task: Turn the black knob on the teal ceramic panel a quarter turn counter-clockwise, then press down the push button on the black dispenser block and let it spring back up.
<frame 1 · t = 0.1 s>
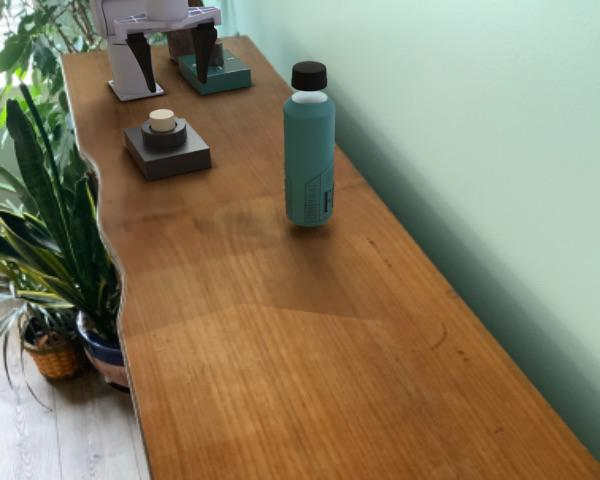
hand: (177, 86, 91), 10 cm above the table, tool pointing down, fingers open, 7 cm apart
dark brown tall block: (188, 59, 127), on the table
dial panel: (215, 79, 120), on the table
knob: (212, 50, 116), point 5 cm above the table, hinge at 0.0°
dispenser: (168, 157, 98), on the table
push button: (162, 121, 93), point 6 cm above the table, slide at 0.1 cm
beverage bottle: (308, 225, 84), on the table
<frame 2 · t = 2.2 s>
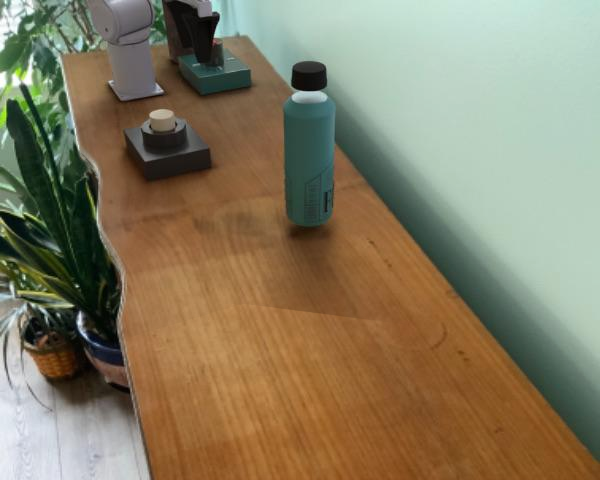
hand: (196, 54, 103), 9 cm above the table, tool pointing down, fingers open, 7 cm apart
nothing on the table moved.
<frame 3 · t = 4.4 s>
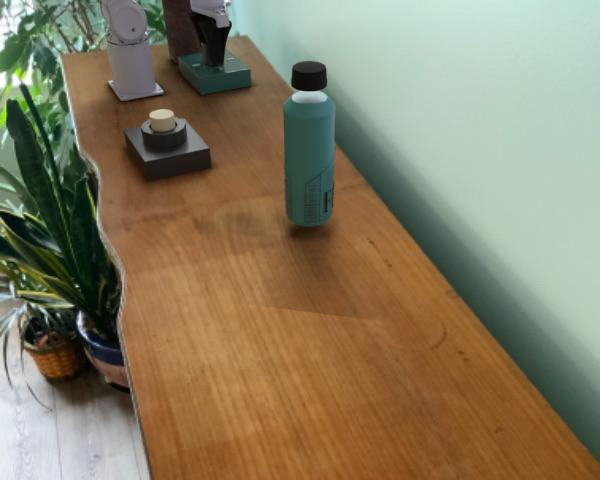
hand: (213, 59, 117), 4 cm above the table, tool pointing down, fingers closed on knob, 4 cm apart
knob: (212, 50, 116), point 5 cm above the table, hinge at 0.0°, touching gripper
everything else where it was.
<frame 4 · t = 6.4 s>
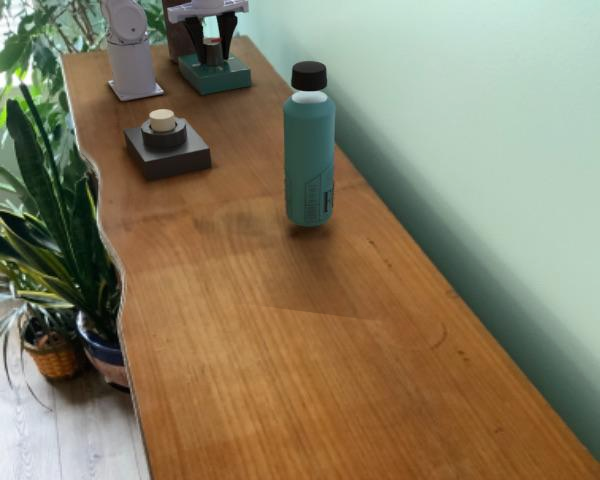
hand: (213, 60, 117), 3 cm above the table, tool pointing down, fingers closed on knob, 4 cm apart
knob: (212, 50, 116), point 5 cm above the table, hinge at 89.8°, touching gripper
everything else where it was.
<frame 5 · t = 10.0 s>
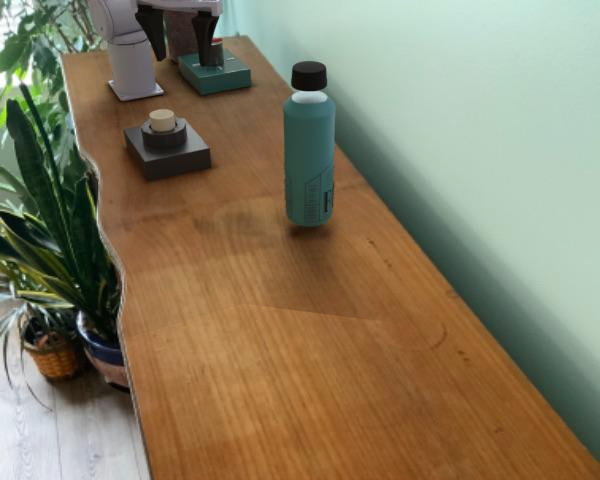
hand: (183, 62, 100), 9 cm above the table, tool pointing down, fingers open, 7 cm apart
knob: (212, 50, 116), point 5 cm above the table, hinge at 89.7°
everything else where it was.
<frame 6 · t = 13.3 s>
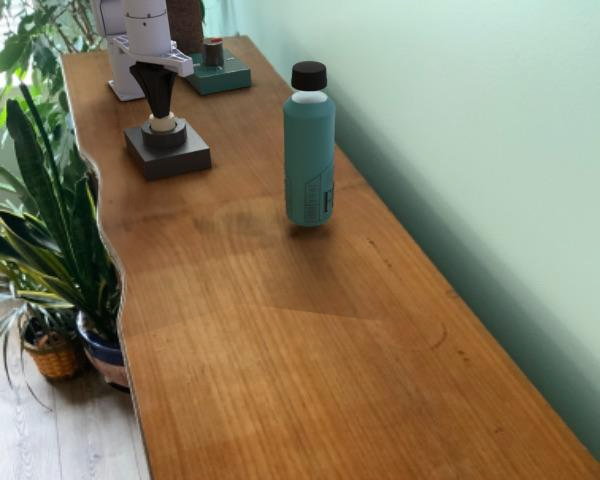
hand: (161, 115, 93), 6 cm above the table, tool pointing down, fingers closed, pressing on push button
push button: (162, 122, 94), point 5 cm above the table, slide at -0.1 cm, touching gripper
everything else where it was.
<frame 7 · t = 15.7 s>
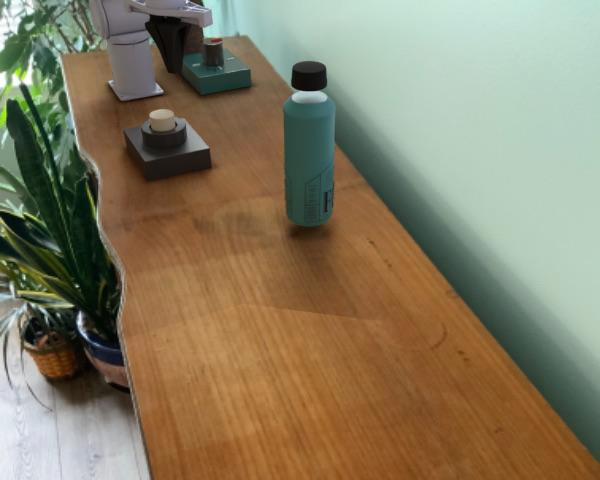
hand: (175, 71, 96), 10 cm above the table, tool pointing down, fingers closed
push button: (162, 121, 93), point 6 cm above the table, slide at 0.1 cm
everything else where it was.
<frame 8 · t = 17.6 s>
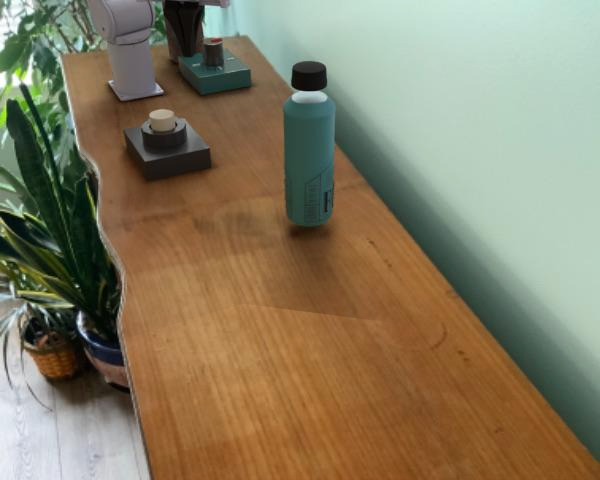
hand: (189, 55, 100), 10 cm above the table, tool pointing down, fingers closed
nothing on the table moved.
at the end: knob at +90° (first picture: +0°); push button pushed in 1.4 cm at the most during the clip, back to where it started at the end; push button slide at 0.1 cm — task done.
